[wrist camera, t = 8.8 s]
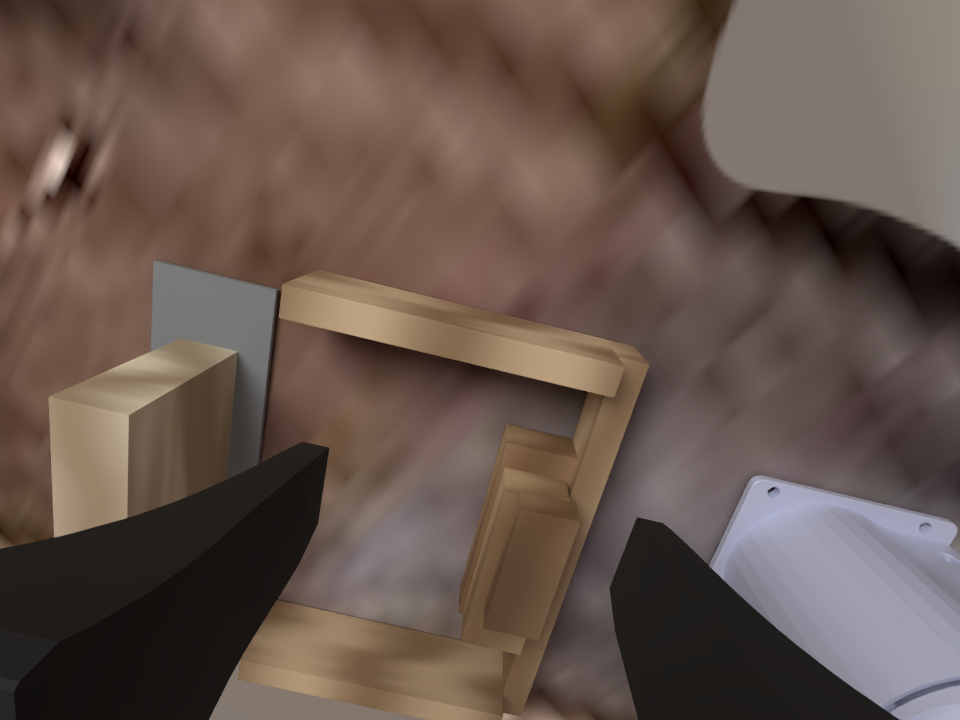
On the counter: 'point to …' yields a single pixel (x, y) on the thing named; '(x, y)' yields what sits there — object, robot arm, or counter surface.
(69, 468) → the wooden block
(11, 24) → the counter surface
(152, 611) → the robot arm
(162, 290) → the mat
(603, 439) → the rack
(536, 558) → the offcuts
